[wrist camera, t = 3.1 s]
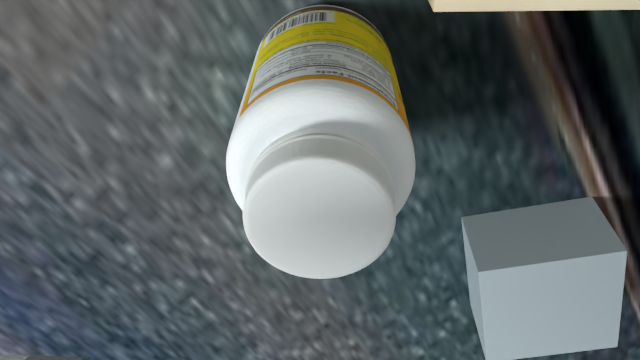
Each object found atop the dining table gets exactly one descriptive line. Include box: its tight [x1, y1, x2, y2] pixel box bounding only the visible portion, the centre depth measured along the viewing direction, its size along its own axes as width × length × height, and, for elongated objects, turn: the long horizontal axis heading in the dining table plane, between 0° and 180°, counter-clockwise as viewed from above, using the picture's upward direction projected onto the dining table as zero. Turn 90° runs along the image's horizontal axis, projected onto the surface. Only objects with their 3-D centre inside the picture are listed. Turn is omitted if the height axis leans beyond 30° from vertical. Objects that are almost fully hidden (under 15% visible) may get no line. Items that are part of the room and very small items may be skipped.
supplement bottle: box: [226, 5, 415, 279], centre depth 19 cm, size 6×6×10 cm
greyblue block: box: [461, 197, 627, 360], centre depth 27 cm, size 6×6×4 cm
